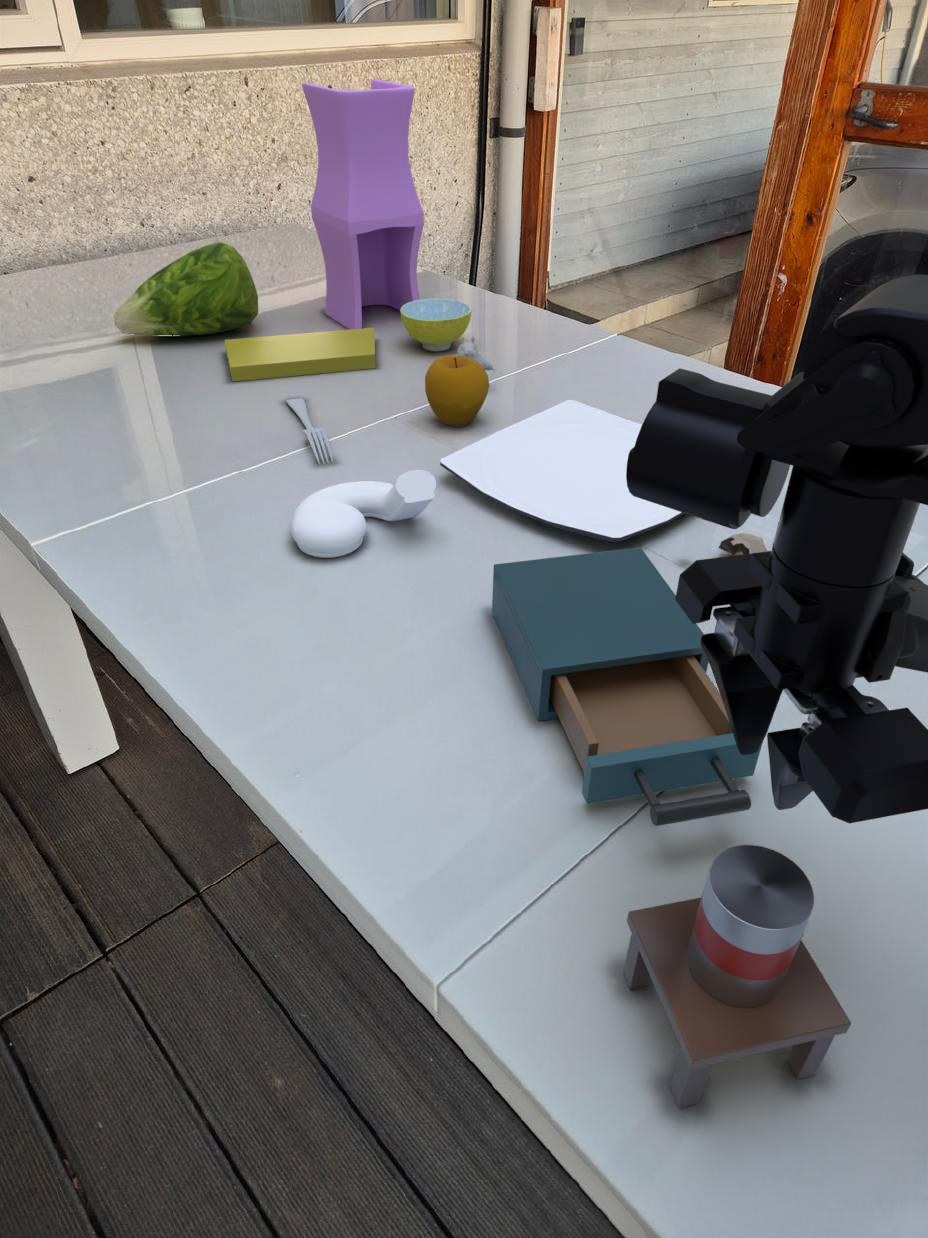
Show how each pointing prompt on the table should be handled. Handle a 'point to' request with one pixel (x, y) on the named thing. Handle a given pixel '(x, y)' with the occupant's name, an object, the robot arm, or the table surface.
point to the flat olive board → (301, 354)
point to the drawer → (652, 736)
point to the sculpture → (357, 511)
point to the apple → (456, 389)
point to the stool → (719, 1028)
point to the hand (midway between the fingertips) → (765, 778)
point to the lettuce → (193, 296)
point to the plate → (563, 472)
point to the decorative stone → (743, 544)
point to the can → (749, 925)
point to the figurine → (473, 353)
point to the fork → (311, 429)
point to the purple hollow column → (365, 198)
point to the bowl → (436, 321)
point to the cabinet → (587, 617)
